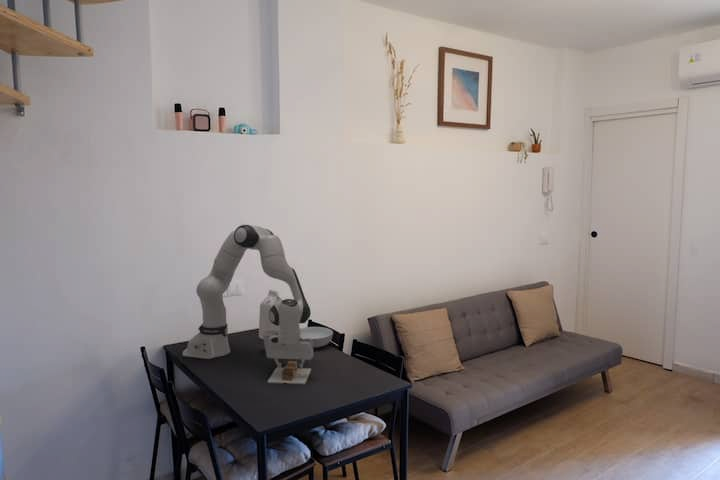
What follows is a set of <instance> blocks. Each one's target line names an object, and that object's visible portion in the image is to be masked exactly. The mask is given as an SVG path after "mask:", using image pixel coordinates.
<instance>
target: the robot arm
mask: <svg viewBox="0 0 720 480" xmlns="http://www.w3.org/2000/svg"><path fill="white" fill-rule="evenodd" d="M248 249H249V250H253V251H255V250H256V251H258V252H259V254H260V263H261V268H262V271H263V273H265V275H267V277H270V278H272V279H276V280H279V281H282V282H284V283H286V284H287V285H288V287H289V289H290V291H291V294H292V298H293V299H292V298H286V299H285V298H284V299H282V300H283V301H281V303H279V304H275V305H273V306H272V307H271V309H270V310H269V319H270V322H271V323H273V324H274V325H276V326H280V332H278V333H274V334H272V335H271V336H270V338H269V344H268V345H267V351H266V352H265V355H266V357H267V358H268V359H274V363H276V366H277V368H282V362H280V360H281V359H283V360H285V359H287V360H301V361H300V362H301V363H299V364H298V368H299V369H302V368H303V367H304V363H305V361H307V360H308V361H310V360H312V359H313V357H314V348H313V346H314V341H313V340H312V339H310V338H300V329H301V328H300V324H306V323H307V321H308V320H309V319H310V317H311V315H312V314H311V308H310V306H309V303H308V301H307V299H306V298H305V294H304V292H303V288H302V285H301V283H300V279H299V277H298V275H297V272H296V270H295V269H294V268H293V267H291V266H290V265H289V264H288V262H287V258H286V254H285V250H284V247H283V244H282V241H281V239H280V237H279V236H278V235H276V234H274V233H273V231H272V230H269V229H267V228H264V227H261V226H256V225H250V224H242V225H238V226H237V227H236V229H234V230H232V231H231V232H230V233H229V234H228V236H227V237H226V239H225V240H224V242H223V243H222V245H221V246H220V248H219V251H218V252H217V254H216V256H215V258H214V260H213V265H212V268H211V271H210V272H209V274H208V275H207V276H206V277H204V278H202V279H201V280H200V281H199V282H198V284H197V286H196V290H195V291H196V294H197V296H198V298H199V302H200V304H201V309H202V323H201V325H199V327H198V328H197V331H198V333H196V334H195V335H194V336H193V337H192V338H191V339H189V341H188V343H187V347H186V348H185V349H184V350H183V351H182V356H183V357H189V358H196V359H197V358H198V359H207V360H211V359H214V358H218V357H223V356H226V355H229V353H231V349H230V345H229V339H228V333H229V332H228V329H229V328H228V323H227V308H226V306H225V303H224V297H223V294H224V293H225V292H227V290H228V289H229V287H230V284H231V282H232V280H233V277H234V275H235V272H236V271H237V270H236V269H238V266H239V264H240V262H241V261H242V258H243V257H244V254H245V253H246V251H247V250H248ZM279 359H280V360H279Z"/></svg>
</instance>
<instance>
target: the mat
mask: <svg viewBox="0 0 720 480" xmlns="http://www.w3.org/2000/svg"><path fill="white" fill-rule="evenodd" d="M283 369H284V367H281V368H277V367H276V368H275V369H274V370H273V372H272V374H271V375H270V377H268V379H267V384H283V383H287V385H288V384H290V385H306V383H307V381H308V378H309V377H310V374H311V371H312V368H307V367H306V368H305V367H304V368H302V369H299V367H297V371H296V373H295V375H294V377H293V379H292V381H291V380H282V371H283Z"/></svg>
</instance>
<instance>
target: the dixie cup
mask: <svg viewBox="0 0 720 480" xmlns="http://www.w3.org/2000/svg"><path fill="white" fill-rule="evenodd" d="M278 332H279V331H277V330H266V331H264V332H263V333H262V334H263V338H264V339H263V343H264V351H265V353H266V351H267V345H268V344H269V338H270V336H271V335H272V334H274V333H278Z"/></svg>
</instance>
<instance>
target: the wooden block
mask: <svg viewBox="0 0 720 480" xmlns="http://www.w3.org/2000/svg"><path fill="white" fill-rule="evenodd" d="M283 368H284V369H283V371H282V380H291V381H292V379H293V377H294V375H295V373H296V371H297V368H298V360H288V361H287V362H286V364H285V366H284V367H283Z"/></svg>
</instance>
